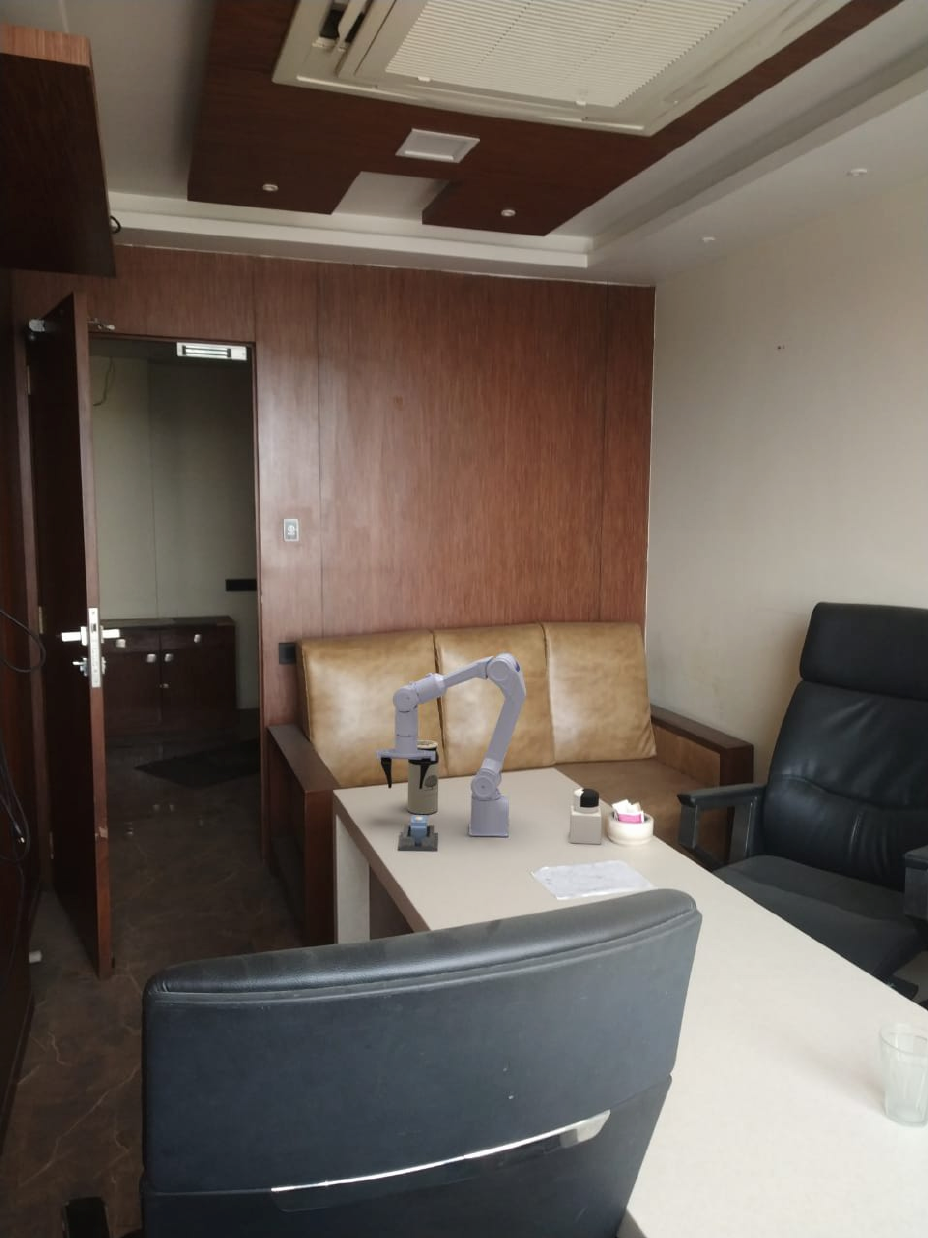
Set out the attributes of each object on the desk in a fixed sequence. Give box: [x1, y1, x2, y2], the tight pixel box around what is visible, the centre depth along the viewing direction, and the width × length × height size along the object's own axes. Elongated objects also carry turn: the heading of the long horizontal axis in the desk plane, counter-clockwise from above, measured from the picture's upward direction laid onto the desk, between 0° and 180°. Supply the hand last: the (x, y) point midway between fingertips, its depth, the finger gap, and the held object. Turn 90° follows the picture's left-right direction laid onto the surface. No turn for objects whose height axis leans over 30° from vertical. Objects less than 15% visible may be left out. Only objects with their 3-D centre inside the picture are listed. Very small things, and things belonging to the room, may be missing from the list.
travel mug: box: [407, 739, 440, 815], centre depth 229 cm, size 8×8×18 cm
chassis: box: [397, 824, 439, 852], centre depth 206 cm, size 9×10×3 cm
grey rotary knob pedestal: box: [569, 788, 603, 845], centre depth 211 cm, size 7×7×12 cm
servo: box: [410, 814, 428, 844], centre depth 206 cm, size 4×7×6 cm, turn 0°
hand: (405, 787), depth 218 cm, fingers open, 7 cm apart
